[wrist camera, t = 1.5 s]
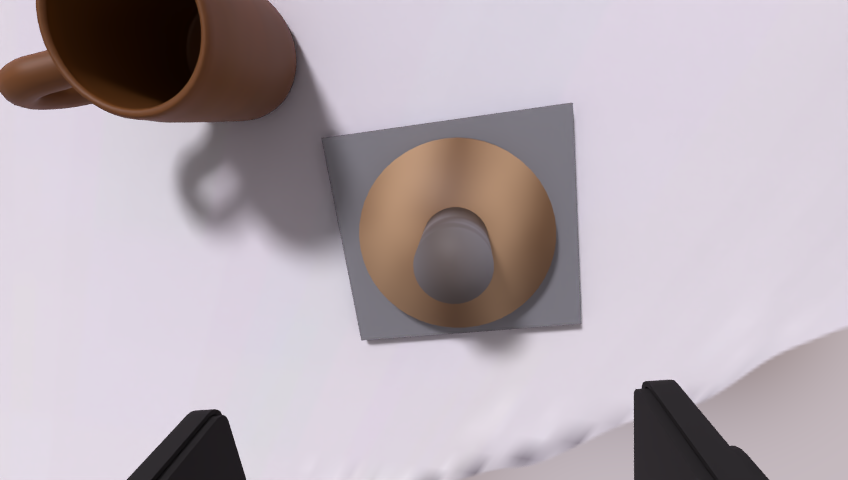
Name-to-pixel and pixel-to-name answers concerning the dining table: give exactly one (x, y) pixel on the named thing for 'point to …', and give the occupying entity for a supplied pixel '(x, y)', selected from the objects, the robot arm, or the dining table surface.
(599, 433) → the dining table surface
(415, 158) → the copper lid
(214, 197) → the dining table surface
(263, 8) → the mug
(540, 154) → the rubber mat
